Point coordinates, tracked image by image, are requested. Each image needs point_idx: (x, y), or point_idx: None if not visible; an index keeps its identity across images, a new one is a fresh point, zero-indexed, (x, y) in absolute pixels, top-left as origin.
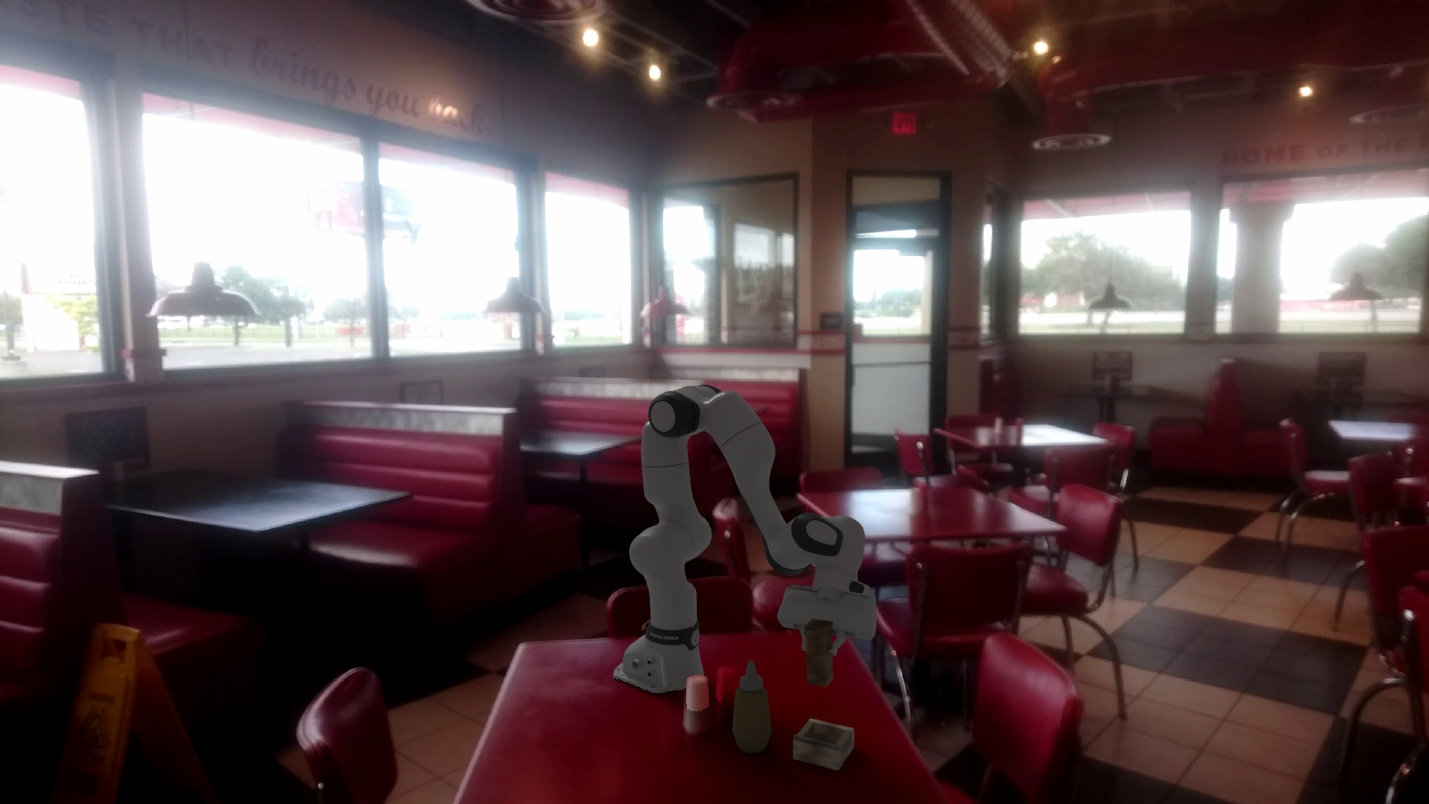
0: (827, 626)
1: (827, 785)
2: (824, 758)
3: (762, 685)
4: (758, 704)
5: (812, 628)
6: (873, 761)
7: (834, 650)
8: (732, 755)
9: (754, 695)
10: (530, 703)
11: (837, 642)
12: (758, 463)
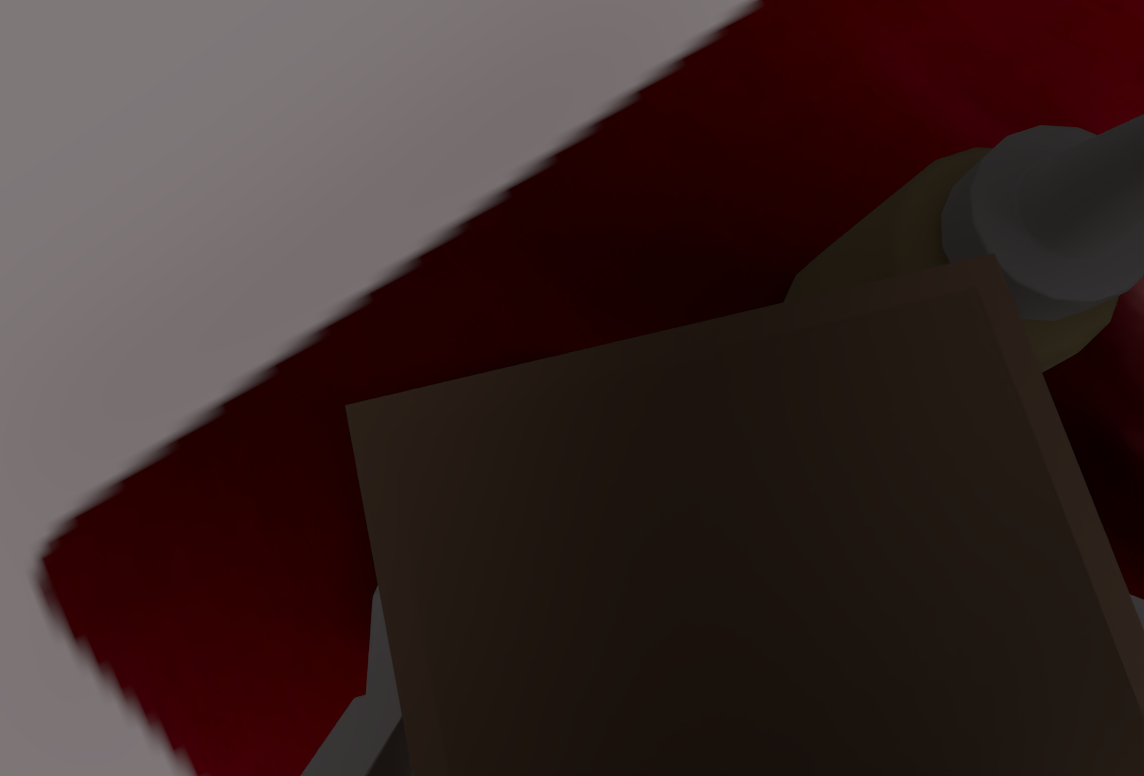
0: (409, 650)
1: (404, 322)
2: None
3: None
4: (874, 222)
5: (744, 326)
6: (329, 619)
7: (377, 620)
8: None
9: (929, 188)
10: None
11: (333, 741)
12: None
